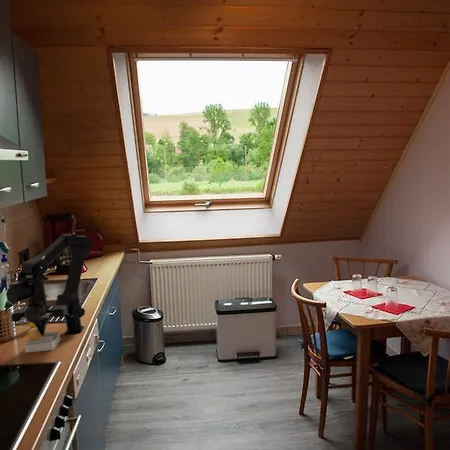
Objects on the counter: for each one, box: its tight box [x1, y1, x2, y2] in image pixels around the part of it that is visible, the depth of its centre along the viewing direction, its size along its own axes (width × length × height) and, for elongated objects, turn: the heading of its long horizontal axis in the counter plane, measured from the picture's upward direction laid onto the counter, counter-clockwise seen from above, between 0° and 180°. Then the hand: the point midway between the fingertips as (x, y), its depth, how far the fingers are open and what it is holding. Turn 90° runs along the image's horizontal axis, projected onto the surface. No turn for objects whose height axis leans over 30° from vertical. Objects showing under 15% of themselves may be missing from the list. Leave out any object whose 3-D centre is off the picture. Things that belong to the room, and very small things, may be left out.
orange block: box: [27, 328, 41, 341], centre depth 164 cm, size 4×3×4 cm
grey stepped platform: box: [24, 331, 62, 353], centre depth 164 cm, size 9×10×4 cm
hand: (43, 335), depth 164 cm, fingers closed
